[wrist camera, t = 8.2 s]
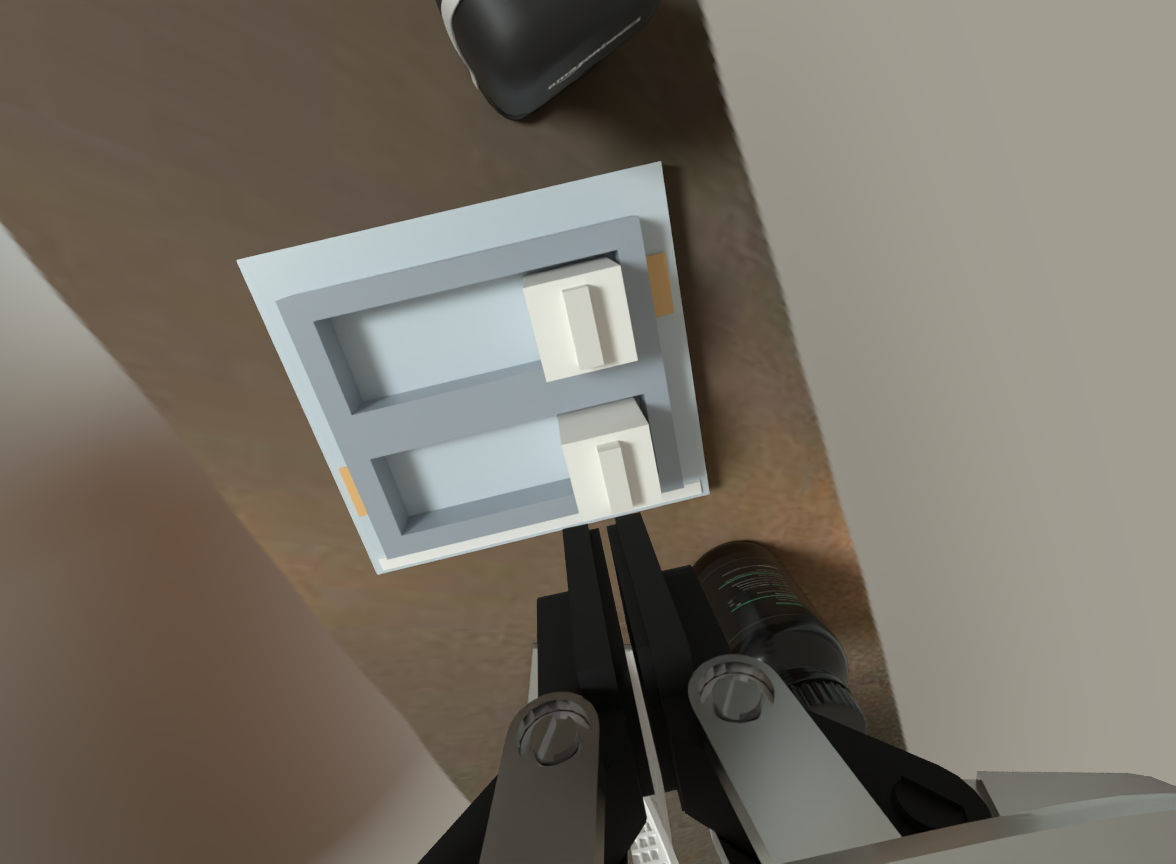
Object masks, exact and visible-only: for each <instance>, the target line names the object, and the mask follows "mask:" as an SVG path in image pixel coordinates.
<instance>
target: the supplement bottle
mask: <svg viewBox="0 0 1176 864" xmlns="http://www.w3.org/2000/svg"><path fill="white" fill-rule="evenodd" d="M692 568H693V569H694V571H695V573H696V576H697V578H698V580H699V582H700V584H701V586H702V589H703V591H704V593H705V595H706V597H707V599H708V602H709V604H710V606H711V608H712V610H713V612H714V615H715V617H716V619H717V621H718V623H719V625H720V628H721V630H722V632H723V634H724V636H725V638H726V641H727V643H728V645H729V647H730V649H731V651H732V654H733V655H745V656H749V657H752V658H756V659H758V660H760V661H761V662H763V663H765V664H767V665H769V666H770V667H771V668H772V669H773V670H774V671H775V672H776V673H777V674H778V675H779V677H780V678H781V679H782V680H783V682H784V683H785V684H786V686H787V687H788V688H789V690H790V691H791V692H792V694H793V695H794V696H795V698H796V699H797V700H798V701H799V703H800V704H801V705H802V707H803V708H805V709H807V710H810V711H812V712H814V713H817V714H819V715H821V716H824V717H826V718H828V719H831V720H833V721H836V722H838V723H840V724H843V725H845V726H847V727H850V728H852V729H854V730H857V731H859V732H861V733H864V734H866V735H868V734H867V730H868V726H867V720H866V717H865V716H864V714H863V712H862V710H861V708H860V707H859V705H858V704H857V702H856V701H855V699H854V697H853V695H852V693H851V691H850V690H849V688H848V687H847V682H848V673H849V668H848V661H847V657H846V654H845V651H844V649H843V648H842V646H841V644H840V643H839V641H838V640H837V638H836V637H835V635H834V634H833V633H832V631H831V630H830V628H829V627H828V626H827V624H826V623H825V621H824V620H823V619H822V617H821V616H820V615H819V613H818V612H817V610H816V609H815V608H814V606H813V605H812V604H811V602H810V601H809V599H808V598H807V597H806V595H805V594H804V592H803V591H802V590H801V588H800V587H799V586H798V584H797V583H796V581H795V580H794V579H793V577H792V576H791V575H790V573H789V572H788V570H787V569H786V568H785V566H784V565H783V564H782V563H781V561H780V560H779V559H778V557H777V556H776V555H775V554H774V553H773V552H771V551H770V550H769V549H767V548H765V547H763V546H761V545H758V544H755V543H751V542H732V543H727V544H723V545H721V546H718V547H716V548H714V549H712V550H710V551H709V552H707V553H706V554H704V555H703V556H702V557H701V558H700V559H699V560H698V561H697V562H696V563H695V564H694V566H693V567H692Z"/></svg>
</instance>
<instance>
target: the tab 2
mask: <svg viewBox="0 0 1176 864" xmlns="http://www.w3.org/2000/svg"><path fill="white" fill-rule="evenodd" d="M557 418H558V424H559V431H560V438H561V445H562V449H563V453H564V457H565V461H566V464H567V468H568V472H569V476H570V480H571V484H572V488H573V492H574V496H575V499H576V503H577V507H578V511H579V515H580V519H581V520H584V519H588V518H592V517H597V516H601V515H605V514H609V513H612V514H616V513H620V512H624V511H628V510H632V509H633V508H634V507H638V506H642V505H646V504H650V503H654V502H658V501H663V499H662V494H661V489H660V483H659V478H658V473H657V467H656V462H655V456H654V451H653V446H652V440H651V435H650V429H649V424H648V423H647V421H646V419H645V417H644V416H643V414H642V412H641V410H640V409H639V407H638V405H637V403H636V401H635V400H634V398H633V396H632V397H628V398H624V399H620V400H616V401H611V402H607V403H603V404H599V405H595V406H591V407H586V408H582V409H578V410H574V411H570V412H566V413H561V414H557Z"/></svg>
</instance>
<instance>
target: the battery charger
mask: <svg viewBox="0 0 1176 864" xmlns="http://www.w3.org/2000/svg"><path fill="white" fill-rule="evenodd" d="M660 1H661V0H436V2H437V6H438V8H439V11H440V14H441V17H442V19H443V21H444V24H445V27H446V29H447V32H448V35H449V37H450V39H451V41H452V43H453V45H454V47H455V49H456V50H457V52H458V53H459V55H460V57H461V58H462V60H463V61H464V63H465V64H466V66H467V68H468V71H469V73H470V75H471V78H472V81H473V83H474V85H475V86H476V88H477V89H478V90H481V92H482V93H483V95H484V97H485V98H486V100H487V101H488V103H489V104H490V105H491V106H492V107H493V108H494V109H495V110H496V111H497V112H498V113H499V114H501V115H502V116H503V117H505V118H507V119H509V120H521V119H523V118H525V117H527V116H528V115H530V114H531V113H533V112H534V111H536V110H537V109H538V108H540V107H541V106H542V105H544V104H545V103H546V102H548V101H549V100H550V99H552V98H553V97H554V96H556V95H557V94H558V93H559V92H561V91H562V90H563V89H565V88H566V87H567V86H568V85H570V84H571V83H572V82H574V81H575V80H577V79H578V78H579V77H581V76H582V75H583V74H584V73H586V72H587V71H588V70H590V69H591V68H592V67H593V66H595V65H596V64H597V63H598V62H600V61H601V60H602V59H603V58H604V57H605V56H607V55H608V54H610V53H611V52H612V51H614V50H615V49H616V48H618V47H619V46H620V45H621V44H623V43H624V42H625V41H627V40H628V39H629V38H631V37H632V36H633V35H635V34H636V33H637V32H638V31H639V30H640V29H641V28H643V27H644V26H645V25H646V24H647V23H648V21H649V20H650V18H651V16H652V15H653V13H654V11H655V9H656V8H657V6H658V4H659V2H660Z"/></svg>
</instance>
